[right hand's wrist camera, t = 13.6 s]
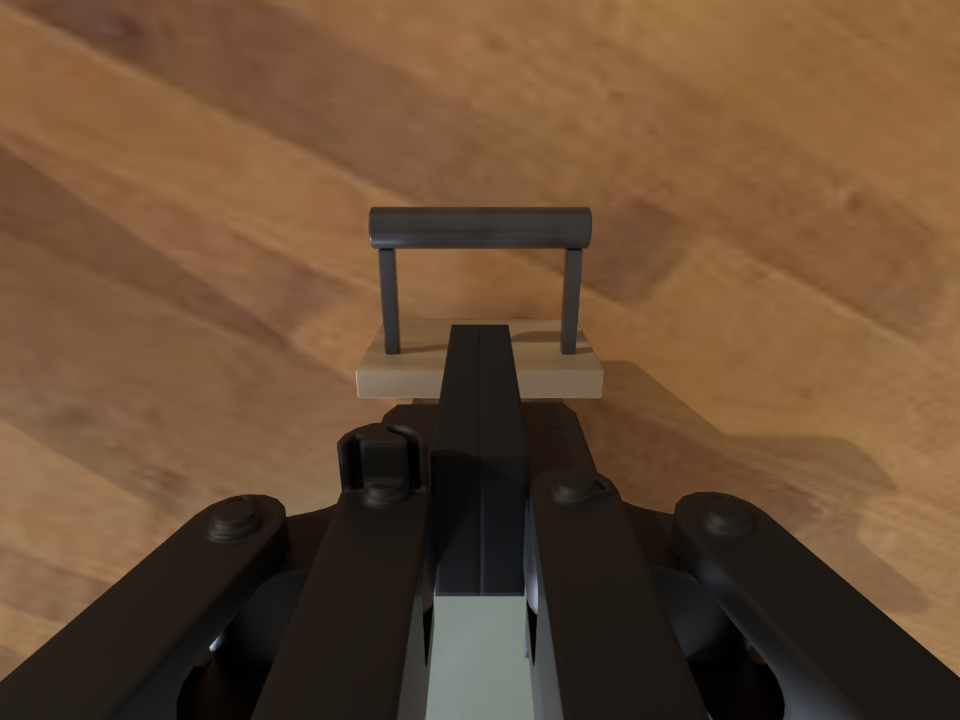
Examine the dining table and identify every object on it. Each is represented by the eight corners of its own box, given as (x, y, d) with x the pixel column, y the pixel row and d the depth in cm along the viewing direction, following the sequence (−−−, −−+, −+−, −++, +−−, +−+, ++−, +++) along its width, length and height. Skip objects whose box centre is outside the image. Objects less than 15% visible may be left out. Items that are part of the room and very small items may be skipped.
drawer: (376, 197, 25) (340, 212, 19) (584, 197, 25) (619, 212, 19) (403, 609, 34) (386, 715, 28) (556, 609, 34) (574, 715, 28)
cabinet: (388, 474, 32) (354, 589, 23) (572, 474, 32) (605, 588, 23) (405, 716, 39) (384, 869, 31) (555, 716, 39) (575, 870, 31)
